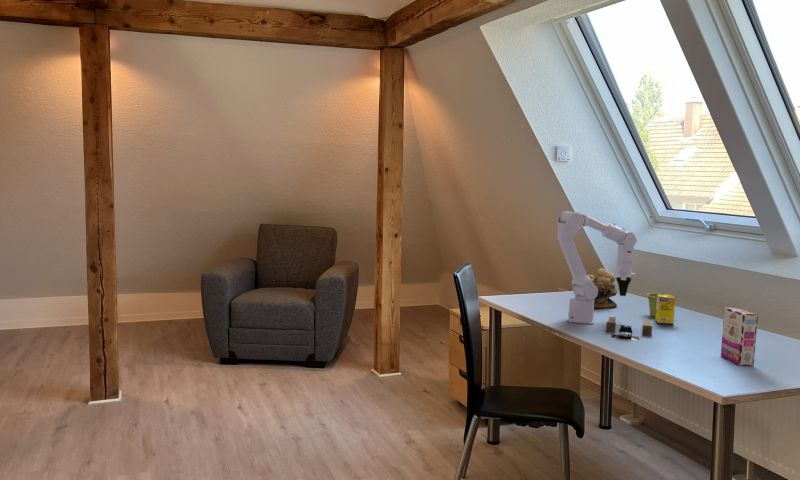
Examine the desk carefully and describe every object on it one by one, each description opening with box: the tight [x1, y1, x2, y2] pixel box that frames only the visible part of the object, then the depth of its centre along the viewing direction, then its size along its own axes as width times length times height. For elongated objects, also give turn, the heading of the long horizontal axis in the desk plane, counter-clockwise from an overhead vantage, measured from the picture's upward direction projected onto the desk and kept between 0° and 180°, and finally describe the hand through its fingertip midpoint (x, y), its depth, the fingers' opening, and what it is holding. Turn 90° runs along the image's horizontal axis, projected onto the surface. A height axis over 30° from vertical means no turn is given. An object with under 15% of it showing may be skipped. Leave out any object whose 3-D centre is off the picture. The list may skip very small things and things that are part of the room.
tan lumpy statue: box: [587, 267, 619, 310], centre depth 300 cm, size 18×12×17 cm, turn 107°
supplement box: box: [654, 294, 676, 326], centre depth 269 cm, size 6×6×11 cm
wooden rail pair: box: [605, 316, 653, 337], centre depth 258 cm, size 16×14×4 cm
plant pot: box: [646, 292, 669, 318], centre depth 283 cm, size 9×9×9 cm
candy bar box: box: [720, 307, 759, 367], centre depth 217 cm, size 11×5×16 cm, turn 5°
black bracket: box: [611, 324, 640, 341], centre depth 246 cm, size 12×7×5 cm, turn 72°
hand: (622, 295), depth 273 cm, fingers closed
